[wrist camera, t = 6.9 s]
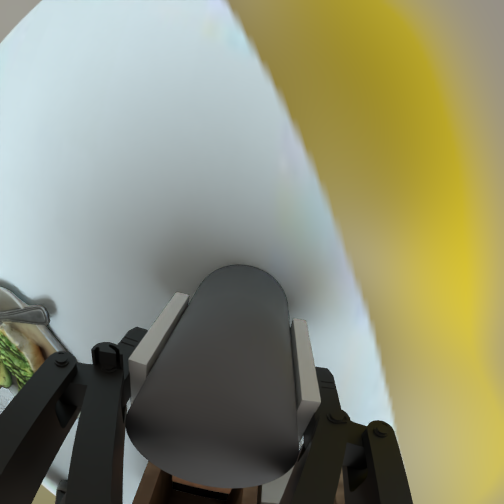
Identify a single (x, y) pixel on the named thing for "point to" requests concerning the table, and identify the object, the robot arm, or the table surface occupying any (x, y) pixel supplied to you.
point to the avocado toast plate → (23, 340)
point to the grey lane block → (273, 490)
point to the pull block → (222, 388)
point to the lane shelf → (170, 500)
